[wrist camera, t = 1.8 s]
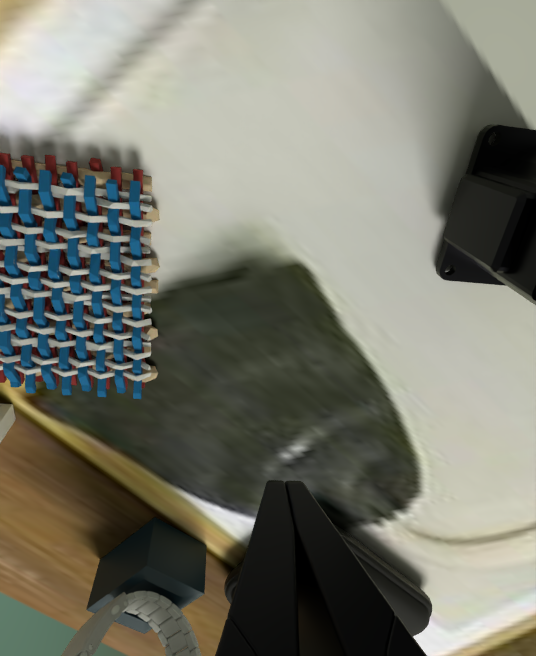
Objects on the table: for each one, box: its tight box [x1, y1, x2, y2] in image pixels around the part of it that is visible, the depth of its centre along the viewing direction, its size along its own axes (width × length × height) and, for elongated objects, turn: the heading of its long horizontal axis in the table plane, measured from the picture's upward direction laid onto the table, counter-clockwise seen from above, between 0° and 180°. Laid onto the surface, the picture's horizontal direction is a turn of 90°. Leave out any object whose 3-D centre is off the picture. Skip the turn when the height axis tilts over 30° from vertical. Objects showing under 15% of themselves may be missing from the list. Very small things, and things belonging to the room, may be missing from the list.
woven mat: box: [0, 153, 160, 399], centre depth 18 cm, size 10×11×2 cm
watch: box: [61, 517, 206, 656], centre depth 23 cm, size 6×8×11 cm
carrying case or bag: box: [225, 524, 432, 636], centre depth 31 cm, size 11×3×15 cm
